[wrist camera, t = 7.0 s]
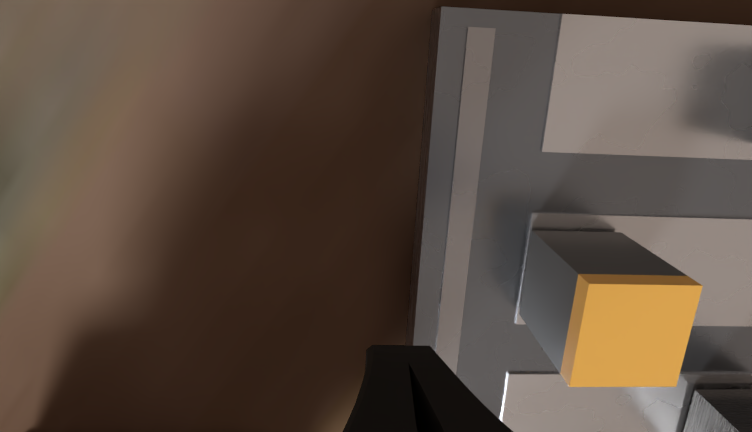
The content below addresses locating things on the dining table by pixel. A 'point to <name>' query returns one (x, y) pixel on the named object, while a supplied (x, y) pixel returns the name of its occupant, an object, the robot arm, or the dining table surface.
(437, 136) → the panel
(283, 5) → the dining table surface
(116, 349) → the dining table surface
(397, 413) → the robot arm
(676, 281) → the block
